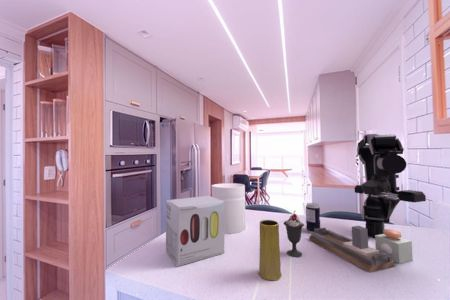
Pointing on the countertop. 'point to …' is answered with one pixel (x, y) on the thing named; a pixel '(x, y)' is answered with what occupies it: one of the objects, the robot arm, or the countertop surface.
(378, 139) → the robot arm
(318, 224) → the beverage can
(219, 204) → the supplement box
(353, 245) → the carriage
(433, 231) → the countertop surface
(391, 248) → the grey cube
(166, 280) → the countertop surface
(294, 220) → the sundae
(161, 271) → the countertop surface
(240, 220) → the canister
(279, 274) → the vase
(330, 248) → the rail
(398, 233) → the button
